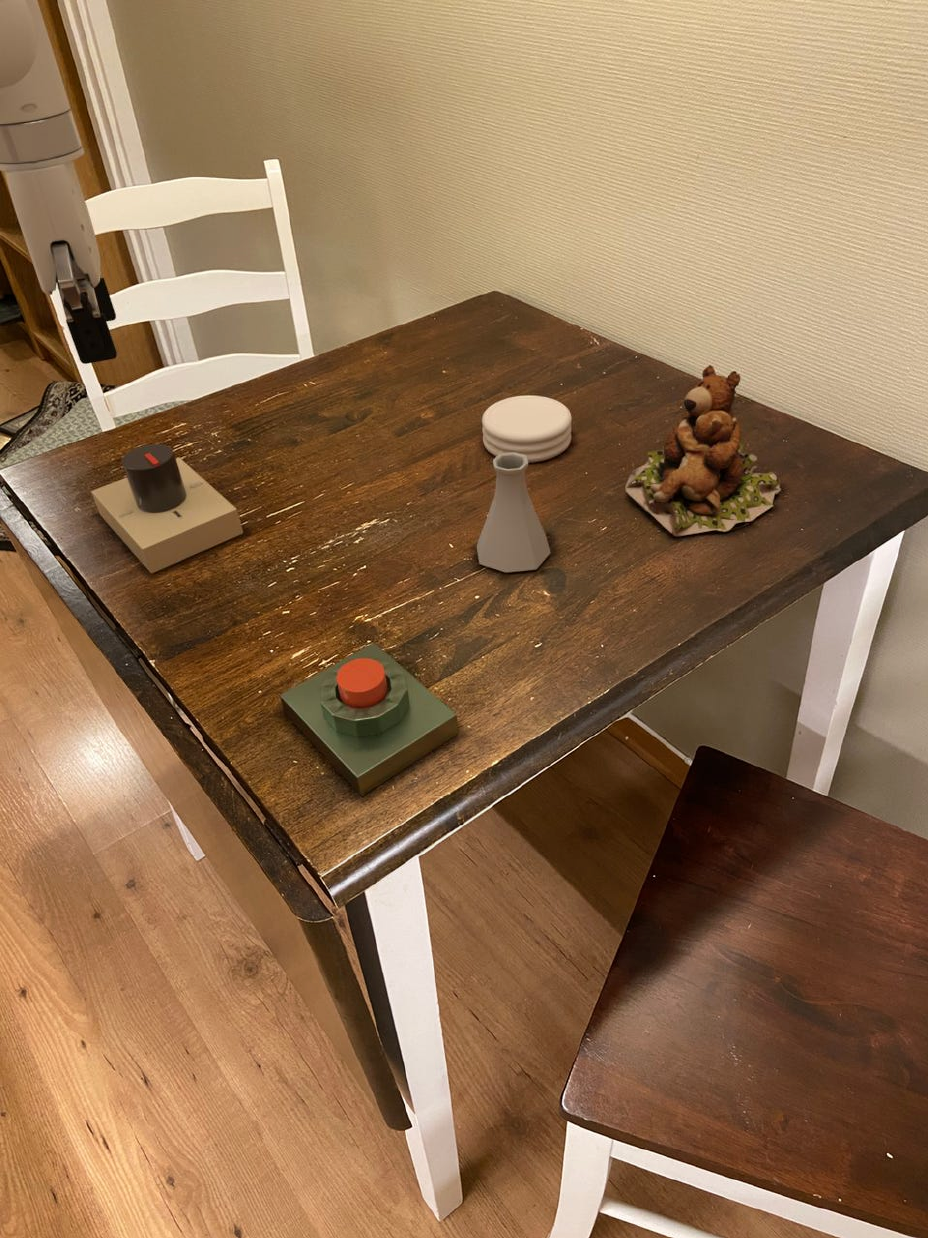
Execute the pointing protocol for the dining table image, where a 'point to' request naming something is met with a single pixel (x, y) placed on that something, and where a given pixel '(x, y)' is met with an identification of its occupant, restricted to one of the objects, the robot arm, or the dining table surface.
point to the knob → (154, 478)
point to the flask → (512, 521)
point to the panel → (169, 521)
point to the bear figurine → (704, 467)
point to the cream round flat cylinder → (527, 427)
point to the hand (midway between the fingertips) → (100, 339)
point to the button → (362, 683)
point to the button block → (370, 722)
